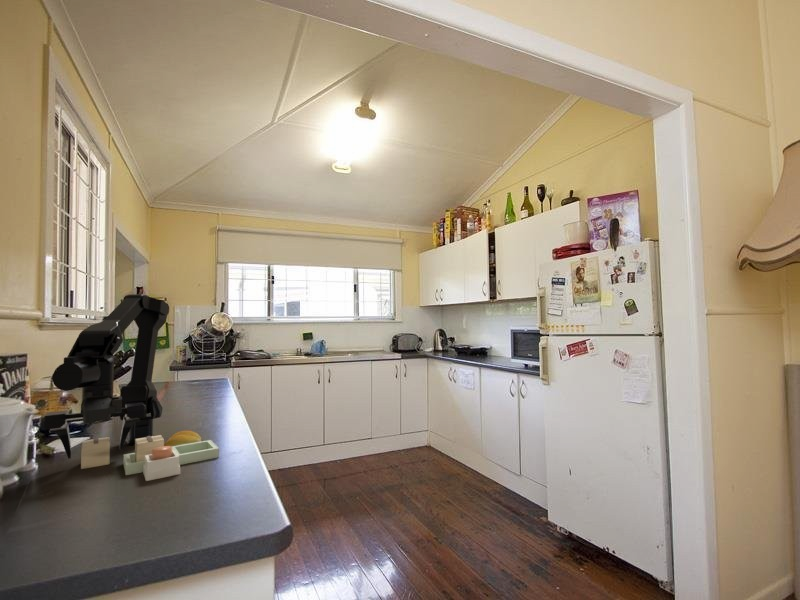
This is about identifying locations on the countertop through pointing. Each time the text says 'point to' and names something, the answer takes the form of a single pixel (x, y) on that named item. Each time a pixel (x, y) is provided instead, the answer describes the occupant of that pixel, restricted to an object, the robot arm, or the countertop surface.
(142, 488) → the countertop surface
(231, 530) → the countertop surface
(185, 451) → the pale green divided tray
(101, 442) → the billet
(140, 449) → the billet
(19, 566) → the countertop surface
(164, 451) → the button
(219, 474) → the countertop surface
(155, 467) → the button housing
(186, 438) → the bread roll
